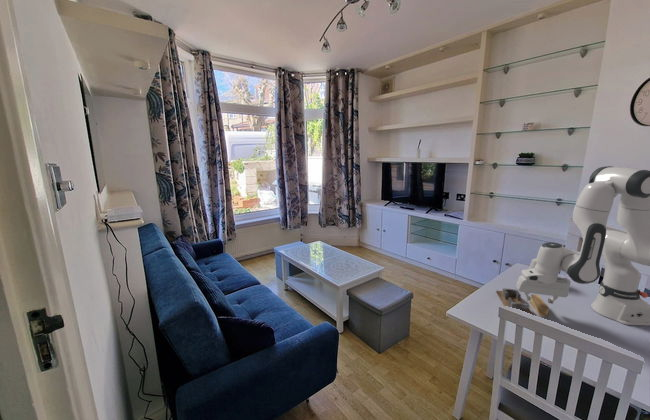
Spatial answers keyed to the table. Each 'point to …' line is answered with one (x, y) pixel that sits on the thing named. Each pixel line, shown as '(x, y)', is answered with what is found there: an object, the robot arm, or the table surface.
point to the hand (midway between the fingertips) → (538, 301)
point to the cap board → (513, 299)
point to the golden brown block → (539, 305)
